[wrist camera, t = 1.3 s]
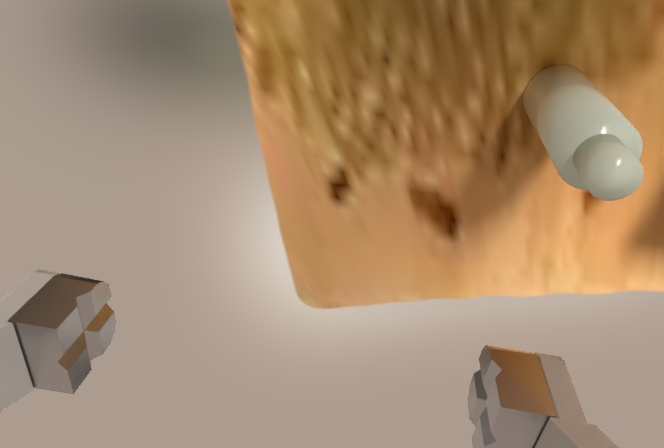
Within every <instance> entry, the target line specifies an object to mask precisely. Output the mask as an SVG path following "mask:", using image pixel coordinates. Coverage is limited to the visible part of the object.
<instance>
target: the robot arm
mask: <svg viewBox="0 0 664 448" xmlns="http://www.w3.org/2000/svg"><path fill="white" fill-rule="evenodd" d="M110 297H111V292H110V288H109V284H107V283H105V282H104V281H99V280H94V279H89V278H83V277H78V276H73V275H67V274H62V273H61V274H59V273H55V272H49V271H45V270H37V271H33V272H31V273H30V274H29V275H28V276H27V277H26V278H25V279H23V280H22V281H21V282H20V283H19V284H18V285H17V286H16V287H15V288H13V289H12V290H11V291H10V292H9V293H8V294H7V295H6V296H4V297H3V298H2V299H1V300H0V411H2V410H3V409H5V408H6V407H8V406H9V405H11V404H12V403H14V402H16V401H18V400H19V399H21V398H22V397H24V396H25V395H27V394H29V393H30V392H32V391H33V390H34V388H38V389H45V390H51V391H58V392H64V393H71V394H74V393H75V391H76V390H77V389H78V387H79V386H80V385H81V383H82V382H83V380H84V379H85V378H86V376H87V375H88V374H89V372H90V371H91V362H90V360H92V359H94V358H96V357H98V356H100V355H102V354H103V353H104V352H105V350H106V349H107V347H108V346H109V344H110V342H111V339H112V337H113V334H114V331H115V315H114V311H113V310H112V309H111V308H110V307H109V306H108V305H107V304H106V302H107V301H108V300H109V299H110ZM479 361H480V368H481V369H480V370H479V371H477V372H476V373H474V374H473V378H472V381H471V385H470V390H469V397H468V409H469V418H470V420H471V421H472V423H473V424H474V425H475V426H476V428H475V431H474V434H473V436H472V443H473V448H619V447H618V446H617V445H615V444H614V443H613V442H612V441H611V440H610V439H609V438H608V437H607V436H606V435H605V434H604V433H603V432H602V431H601V430H600V429H599V428H598V427H597V426H596V425H592V424H587V421H586V418H585V416H584V413H583V410H582V408H581V405H580V402H579V400H578V397H577V394H576V392H575V389H574V386H573V383H572V380H571V378H570V375H569V372H568V370H567V367H566V364H565V362H564V360H563V359H562V358H561V357H559V356H553V355H547V354H540V353H532V352H525V351H519V350H513V349H506V348H500V347H494V346H488V345H486V346H485V347H484V348H483V350H482V352H481V355H480V358H479Z"/></svg>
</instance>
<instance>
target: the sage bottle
mask: <svg viewBox="0 0 664 448" xmlns="http://www.w3.org/2000/svg"><path fill="white" fill-rule="evenodd" d="M523 105H524V109H525V111H526V113H527V115H528V117H529V119H530V121H531V122H532V124H533V126H534V128H535V130H536V132H537V134H538V135H539V137H540V139H541V141H542V143H543V145H544V147H545V148H546V150H547V152H548V154H549V156H550V158H551V160H552V161H553V163H554V165H555V167H556V169H557V171H558V173H559V175H560V176H561V178H562V179H563V180H564V181H565V182H566V183H568V184H569V185H571V186H573V187H575V188H578V189H583V190H589V191H590V193H591V194H592V195H593V196H594V197H596V198H598V199H601V200H606V201H613V200H618V199H622V198H624V197H626V196H628V195H630V194H631V193H633V192H634V191H635V190H636V189H637V188H638V187H639V185H640V184H641V182H642V180H643V177H644V169H643V166H642V164H641V163H640V162H639V160H640V158H641V154H642V149H643V143H642V138H641V136H640V134H639V132H638V130H637V129H636V128H635V127H634V126H633V125H632V124H631V123H630V122H629V121H628V120H627V119H626V118H625V117H624V116H623V115H622V114H621V113H620V112H619V110H618V109H617V108H616V107H615V106H614V105H613V104H612V103H611V102H610V101H609V100H608V99H607V98H606V97H605V96H604V95H603V94H602V93H601V92H600V91H599V90H598V89H597V87H596V86H595V85H594V84H593V83H592V82H591V81H590V80H589V79H588V78H587V77H586V76H585V75H584V74H583V73H582V72H581V71H580V70H579V69H577V68H575V67H573V66H569V65H555V66H551V67H548V68H546V69H544V70H542V71H540V72H539V73H538V74H536V75H535V76H534V77H533V78H532V79H531V81H530V82H529V83H528V85H527V87H526V89H525V91H524V95H523Z"/></svg>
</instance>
